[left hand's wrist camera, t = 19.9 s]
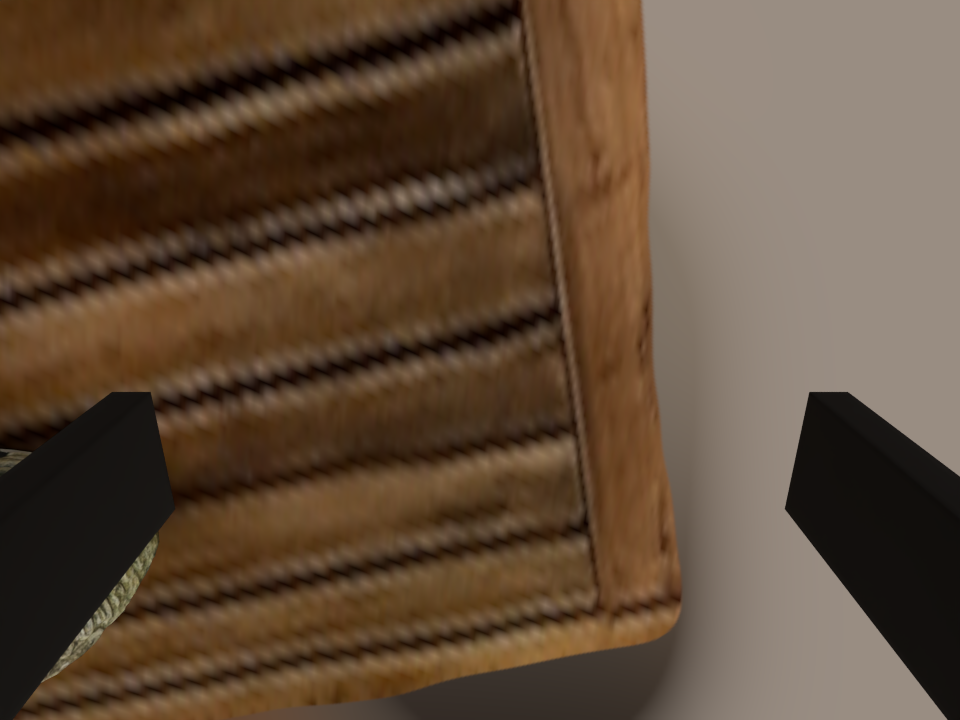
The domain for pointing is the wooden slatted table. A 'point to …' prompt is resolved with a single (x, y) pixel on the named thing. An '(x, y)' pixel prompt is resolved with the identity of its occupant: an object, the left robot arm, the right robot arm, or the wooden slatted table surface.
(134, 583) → the fossil
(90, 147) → the wooden slatted table surface
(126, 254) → the wooden slatted table surface
